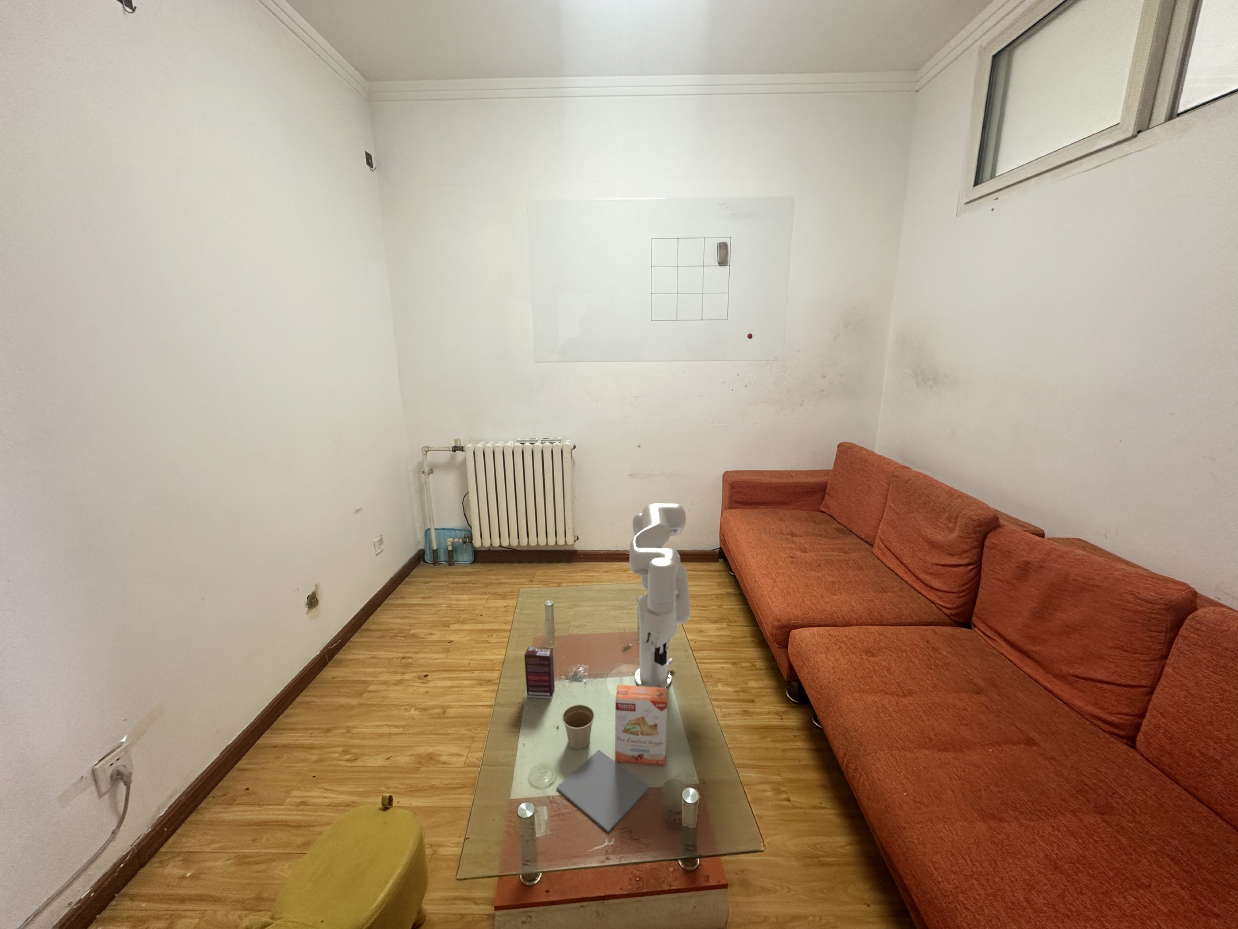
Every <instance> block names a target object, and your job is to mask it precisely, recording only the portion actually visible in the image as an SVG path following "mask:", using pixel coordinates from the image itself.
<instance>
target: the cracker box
mask: <svg viewBox="0 0 1238 929" xmlns="http://www.w3.org/2000/svg"><path fill="white" fill-rule="evenodd" d="M614 716H615V717H614V719H615V722H614V723H615V724H614V726H615V727H614V728H615V730H614V731H615V734H614V737H615V738H614V739H615V740H614V742H615V743H614V750H615V751H614V761H615V762H619V763H620V762H621V763H630V764H632V763H634V764H642V765H643V764H645V765H646V764H647V765H655V766H656V765H657V766H666V752H667V749H666V747H667V721H668V687H667V688H657V687H642V686H639V685H627V684H617V685H616V691H615V715H614Z"/></svg>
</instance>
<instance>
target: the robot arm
mask: <svg viewBox="0 0 1238 929" xmlns="http://www.w3.org/2000/svg"><path fill="white" fill-rule="evenodd" d="M686 523H687V514H686V510H685V509H684V507H683V506H682V505H681V504H679V503H651V504H648V505H646V506H645V507H644V508H643V509H642V512H639V513H637V514H635V515H634V516H633V518H632V529H633V530H632V531H633V534H634V536H633V538H632V539H631V540H630V544H629V551H628V552H629V558H628V559H629V567H630V570H631V572H632V573H633V574H635V575H638V576H640V582H641V586H642V588H643V589H644V590H645V591H647V594H644V595H642V596H641V597H639V599H638V600H637V605H636V607H637V608H636V609H637V616H638V623H639V668H638V669H637V670H636V671H635V674H634V680H635V683H636V684H637V686H642V687H657V688H665V687H667V686H668V685H669V684H670V685H671V683H670V682H672V675H670V674H671V672H670V671H669V668H670V666H672V664H674V659H673V658H672V657H670V658H668V650H669V643H670V641H671V639H673V637H675V635H676V634H677V625H683V624H686V623H688V622H689V621H690V618H691V601H690V589H689V588H690V587H689V578H688V571H687V568H686V567H685V566H684V565H683V564H682V563H681V556H680V554H679V552H678V550H677V549H675V548H670V547H663V546H664V545H666V544H667V543H668V542H669V540H670V537H677V536H679V535H682V534H681V533H682V532H683V530H684V528H685V527H686ZM668 678H670V679H668ZM670 685H669V686H670ZM669 686H668V687H669ZM668 687H667V688H668Z"/></svg>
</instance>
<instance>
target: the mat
mask: <svg viewBox="0 0 1238 929" xmlns="http://www.w3.org/2000/svg"><path fill="white" fill-rule="evenodd" d="M649 789H650V785H649V784H647V783H646V782H644V780H642V779H640V778H639V777H638V776H636V775H635V774H633V773H632V772H631V771H629V770H628V769H627V768H625V767H624V766H622V765H621V764H619V763H618V761H615V759H613V758H611V757H609V756H608V755H607V754H605V753H604V752H603V751H601V750H600V749H598V750H596V752H594V753H593V754H592V755H591V756H590V757H588V759H586V760H585V761H584V762H583V763H582V764H581V765H580V766H579V767H578V768H577V769H576V770H574V771H573V772H572V773H571V774H570V775H569V776H567V778H565V779H564V780H563V781H562V782H561V783H560V784H558V785H557V787H556V790H557V791H558V792H559V793H561V794H562V795H563V796H564V797H565V798H567V799H568V800H569V801H570V802H571V803H573V804H574V805H575V806H576V807H577V808H579V810H581V811H582V812H583V813H585V814H586V815H587V816H588V817H589V818H590V819H591V820H592V821H594V822H595V823H596V824H598V826H600V827H601V828H602V829H604V831H606V832H607V833H610V832H611V830H612V829H614V827H615V826H616V825H617V824H618V823H619V822H620V821H621V819H622V818H624V817H625V815H626V814H627V813H628V812H629V811H630V810H631V809H632V807H633V806H635V805H636V804H637V802H638V801H639V800H640V799H641V798H642V796H643V795H644V794H646V792H647V791H649Z"/></svg>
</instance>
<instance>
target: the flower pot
mask: <svg viewBox="0 0 1238 929" xmlns="http://www.w3.org/2000/svg"><path fill="white" fill-rule="evenodd" d="M595 717H596V716H595V711H594V709H593V708H591V707H590V706H588V705H586V704H574V705H571V706H569V707H567V708H566V709H565V710H563V713H561V721H562V723H563V725H564V727H565V731H566V736H567V741H568V744H569V746H570V747H571V748H572V749H576V750H580V749H584V748H585V747H587V746H589V744H590V741H591V732H592V726H593V722H594V720H595Z"/></svg>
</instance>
